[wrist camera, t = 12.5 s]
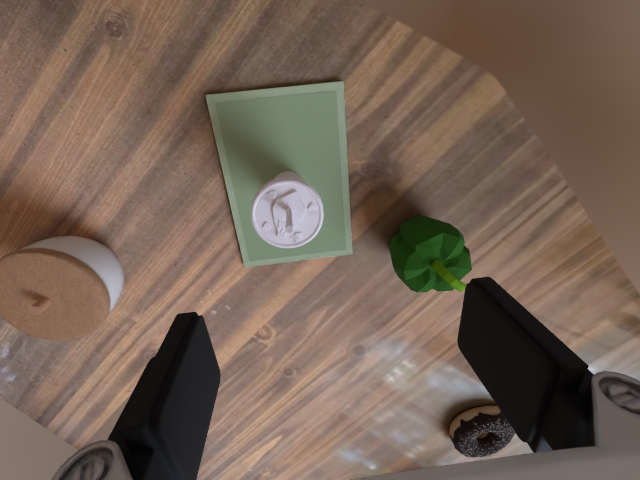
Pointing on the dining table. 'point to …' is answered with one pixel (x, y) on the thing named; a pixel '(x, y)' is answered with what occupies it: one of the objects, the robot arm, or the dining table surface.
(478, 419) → the donut
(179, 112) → the dining table surface
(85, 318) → the trinket box
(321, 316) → the dining table surface
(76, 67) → the dining table surface
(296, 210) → the smoothie
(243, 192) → the placemat
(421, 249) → the bell pepper
